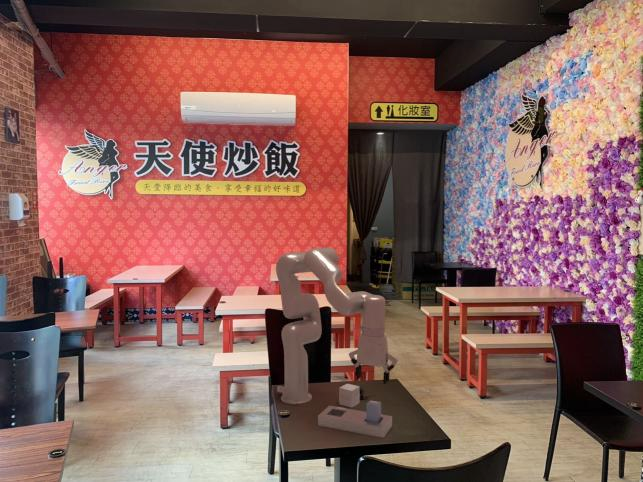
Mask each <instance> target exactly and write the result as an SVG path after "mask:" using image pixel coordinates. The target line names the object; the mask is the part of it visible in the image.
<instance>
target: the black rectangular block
mask: <svg viewBox="0 0 643 482" xmlns="http://www.w3.org/2000/svg"><path fill="white" fill-rule="evenodd" d="M358 386H359V385H358ZM359 387H360V401H363V400H365V402H366V400H367V401H368V400H369V399H370V398H371V396H369V395H365V394H364V393H365V391H364V390H365V389H364V387H363V386H359Z"/></svg>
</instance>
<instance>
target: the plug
mask: <svg viewBox="0 0 643 482" xmlns="http://www.w3.org/2000/svg"><path fill="white" fill-rule="evenodd" d="M365 406H366V409H365V410H366V411H365V412H366V421H367V422H372V423H378V424H379V423H380V422H381V414H382V402H381V401H375V400H369V401H368V402H367V403H366V404H365Z"/></svg>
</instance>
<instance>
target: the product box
mask: <svg viewBox="0 0 643 482" xmlns="http://www.w3.org/2000/svg"><path fill="white" fill-rule="evenodd" d="M360 387H361V386H360ZM360 387H359V385H356V384H355V385H354V384H351V383H346V384H344V385H342V386H340V387H338V398H339V399H338V405H341V406H343V407H348V408H350V409H353V408H354V407H356V406H357V405H359V404H360V403H361V400H360Z"/></svg>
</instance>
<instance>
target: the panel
mask: <svg viewBox="0 0 643 482" xmlns="http://www.w3.org/2000/svg"><path fill="white" fill-rule="evenodd" d="M317 426H319V427H323V428H325V427H326V428H329V429H334V430H341V431H346V432H351V433H356V434H362V435H367V436H372V437H377V438H382V439H383V438H385V437H386V435H387V434H388V432H389V431H390V430H391V428H392V427H393V416H392V415H387V414H382V413H381V422H380V423H379V424H378V423H372V422H367V421H366V411H364V410H358V409H353V408H345V407H340V406H335V405H328V406H326V408H324V410H323V411H321V412H320V414H317Z"/></svg>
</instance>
